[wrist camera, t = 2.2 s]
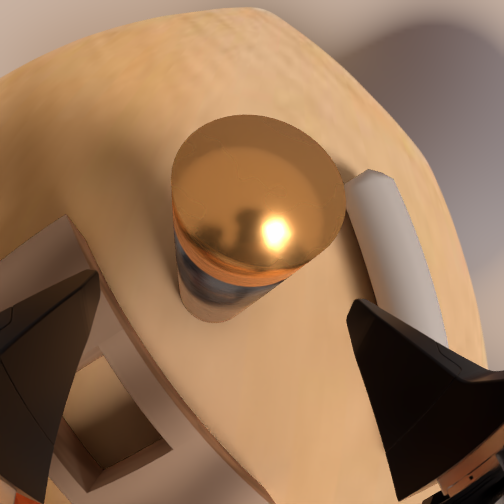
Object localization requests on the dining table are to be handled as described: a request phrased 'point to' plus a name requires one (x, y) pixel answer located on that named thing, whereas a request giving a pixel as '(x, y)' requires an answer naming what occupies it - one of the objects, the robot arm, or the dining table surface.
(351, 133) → the dining table surface
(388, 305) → the tube
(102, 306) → the grey hollow block
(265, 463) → the dining table surface
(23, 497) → the toy drill
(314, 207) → the metallic cylinder
